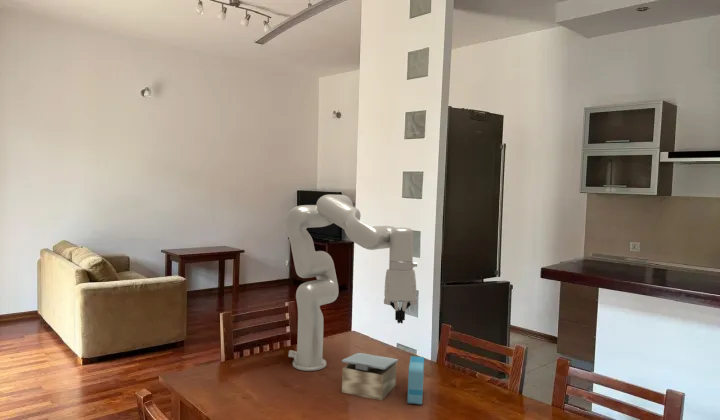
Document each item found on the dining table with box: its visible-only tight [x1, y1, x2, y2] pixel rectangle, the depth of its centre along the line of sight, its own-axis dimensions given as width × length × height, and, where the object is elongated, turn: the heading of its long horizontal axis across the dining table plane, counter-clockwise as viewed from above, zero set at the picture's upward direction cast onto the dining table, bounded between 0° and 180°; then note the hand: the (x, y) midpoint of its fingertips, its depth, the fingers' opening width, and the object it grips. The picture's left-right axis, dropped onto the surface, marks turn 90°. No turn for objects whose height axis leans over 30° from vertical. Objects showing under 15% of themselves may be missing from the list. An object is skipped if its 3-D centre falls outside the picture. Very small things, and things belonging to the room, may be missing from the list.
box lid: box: [341, 352, 399, 370], centre depth 170 cm, size 15×15×2 cm
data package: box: [407, 355, 425, 405], centre depth 164 cm, size 12×4×12 cm, turn 171°
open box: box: [341, 361, 398, 401], centre depth 170 cm, size 14×14×8 cm
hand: (399, 322), depth 164 cm, fingers closed
